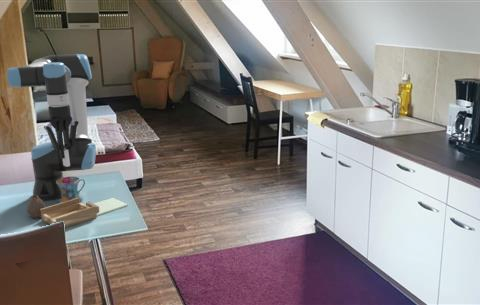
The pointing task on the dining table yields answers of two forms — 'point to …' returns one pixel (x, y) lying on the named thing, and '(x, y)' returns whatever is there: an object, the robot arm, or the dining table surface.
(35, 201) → the vase
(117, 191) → the dining table surface
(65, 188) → the mug
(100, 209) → the lid
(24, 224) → the dining table surface
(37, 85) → the robot arm
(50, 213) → the box
